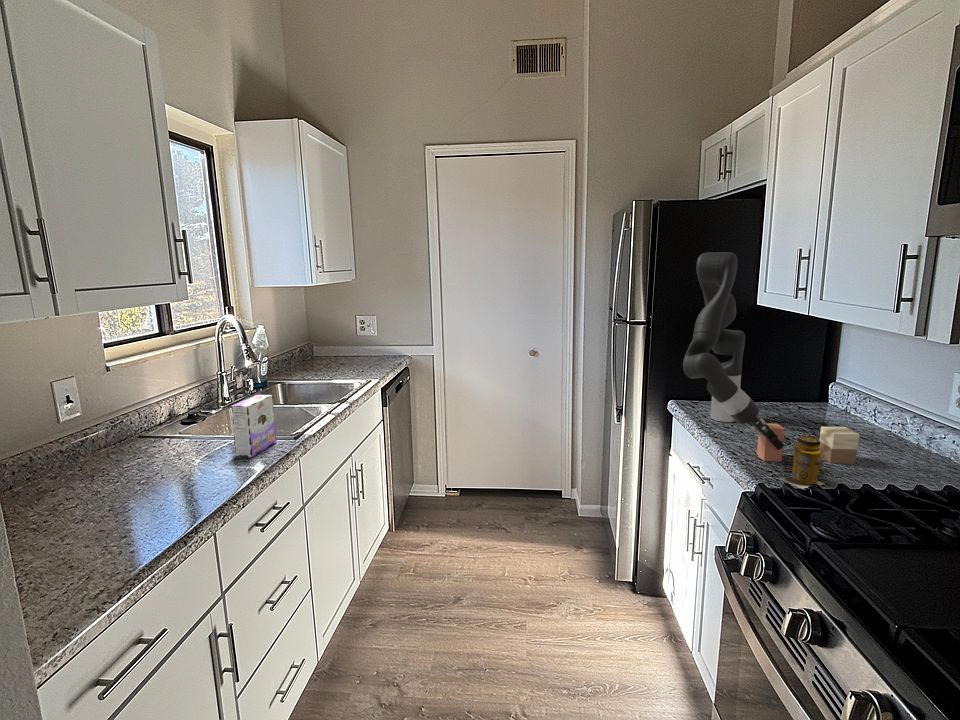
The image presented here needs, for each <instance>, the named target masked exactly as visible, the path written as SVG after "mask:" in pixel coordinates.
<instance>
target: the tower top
mask: <svg viewBox="0 0 960 720" xmlns="http://www.w3.org/2000/svg"><path fill="white" fill-rule="evenodd" d="M819 440H820V442H822V443H824V444H825V445H827V446H828V447H830V448H832V449H857V450H859V442H860V433H858V432H855V431H854V430H852V429H850V428H848V427H846V426H820V433H819Z"/></svg>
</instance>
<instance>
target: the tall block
mask: <svg viewBox="0 0 960 720" xmlns="http://www.w3.org/2000/svg"><path fill="white" fill-rule="evenodd" d="M765 423H766V422H765ZM766 424H767V425H768V426H769V427H770V428H771V430H772V431H773V432H774V433H775V434H776V435H777V436H778V437H777V438H778V439H779V440H780V441H781V442H782V443H783V444H784V439H785V438H784V437H785V428H784V427H783V426H781V425H780V424H778V423H769V422H768V423H766ZM759 432H760V431H759ZM760 433H761V432H760ZM771 435H772V434H771ZM771 435H770V436H771ZM770 436H769V437H770ZM757 437H758V438H757V439H758V440H757V449H756V456H757V455H758V456H757V457H758V458H760V459H761V460H762V461H763V462H782V459H783V450H784V447H782V448H781V449H780V450H778V449H776V447H775V446H774V445H773V444H772V443H771V442H769V441H768V440H767V439H766V438H765V437H764V436H761V435H760V434H758V436H757Z"/></svg>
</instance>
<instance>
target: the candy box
mask: <svg viewBox="0 0 960 720" xmlns="http://www.w3.org/2000/svg"><path fill="white" fill-rule="evenodd" d="M230 408H231V409H230V410H231V419H232V429H233V430H232V431H233V438H234V439H233V441H234V450H235V451H234V452H235V457H243V458H244V457H245V458H253V457H255V456H256V455H258V454H259V453H261V452H262V451H264V450H266V449H268V448H269V447H270V446H272V445H275V443H277V434H276V425H275V424H276V421H275V413H274V401H273V395H272V394H255V395H253V396H251V397H248V398H245V399H243V400H242V401H239V402H237V403H235V404H233V405H230Z"/></svg>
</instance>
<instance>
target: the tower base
mask: <svg viewBox="0 0 960 720" xmlns="http://www.w3.org/2000/svg"><path fill="white" fill-rule="evenodd" d="M820 451H821V457H820V458H822V459H823V460H825V461H826V462H827V463H830V464H847V465H848V464H849V465H850V464H853V465H854V464H856V462H857V461H856V460H857V453H858V449H832V448H830V447H828V446H827V445H825V444H824V443H822V442H820Z"/></svg>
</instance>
